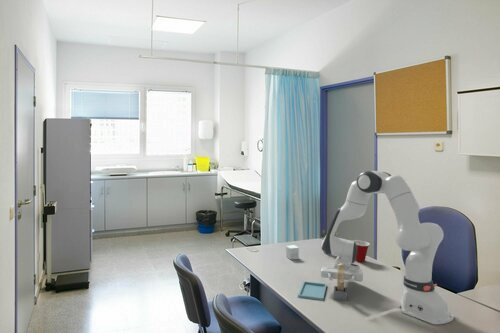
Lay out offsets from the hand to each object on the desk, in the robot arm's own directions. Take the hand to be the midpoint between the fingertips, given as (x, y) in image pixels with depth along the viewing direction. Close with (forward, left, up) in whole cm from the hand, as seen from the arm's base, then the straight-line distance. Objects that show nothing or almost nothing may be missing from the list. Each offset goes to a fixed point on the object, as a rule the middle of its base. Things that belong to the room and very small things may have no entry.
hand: (340, 279), depth 183 cm
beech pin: (+1, -1, -9) cm, 9 cm away
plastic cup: (+37, -51, -10) cm, 63 cm away
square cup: (+1, -1, -10) cm, 10 cm away
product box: (+62, -17, -10) cm, 65 cm away
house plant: (+57, -43, -10) cm, 72 cm away
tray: (+13, +6, -10) cm, 17 cm away
